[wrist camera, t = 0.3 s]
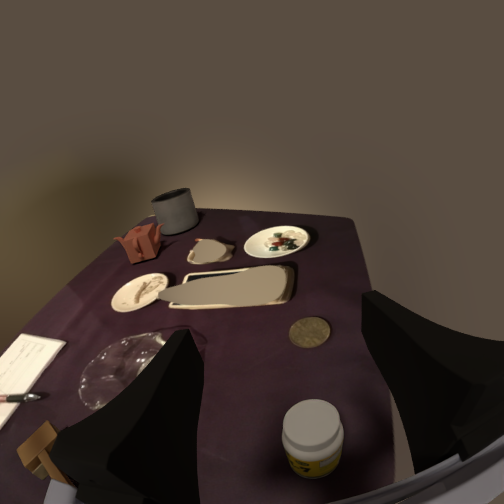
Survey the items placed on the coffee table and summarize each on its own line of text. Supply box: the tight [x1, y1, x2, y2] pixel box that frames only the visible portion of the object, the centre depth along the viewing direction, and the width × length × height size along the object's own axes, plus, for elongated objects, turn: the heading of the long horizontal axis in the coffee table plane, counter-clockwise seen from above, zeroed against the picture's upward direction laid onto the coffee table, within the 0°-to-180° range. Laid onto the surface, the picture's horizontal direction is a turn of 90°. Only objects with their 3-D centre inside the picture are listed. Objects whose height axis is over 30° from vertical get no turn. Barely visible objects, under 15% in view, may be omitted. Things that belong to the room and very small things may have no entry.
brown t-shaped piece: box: [17, 420, 75, 487], centre depth 17 cm, size 8×14×3 cm, turn 60°
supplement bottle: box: [282, 399, 344, 479], centre depth 18 cm, size 5×5×8 cm
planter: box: [151, 188, 199, 235], centre depth 84 cm, size 13×12×11 cm
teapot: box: [114, 223, 164, 264], centre depth 70 cm, size 12×15×8 cm
